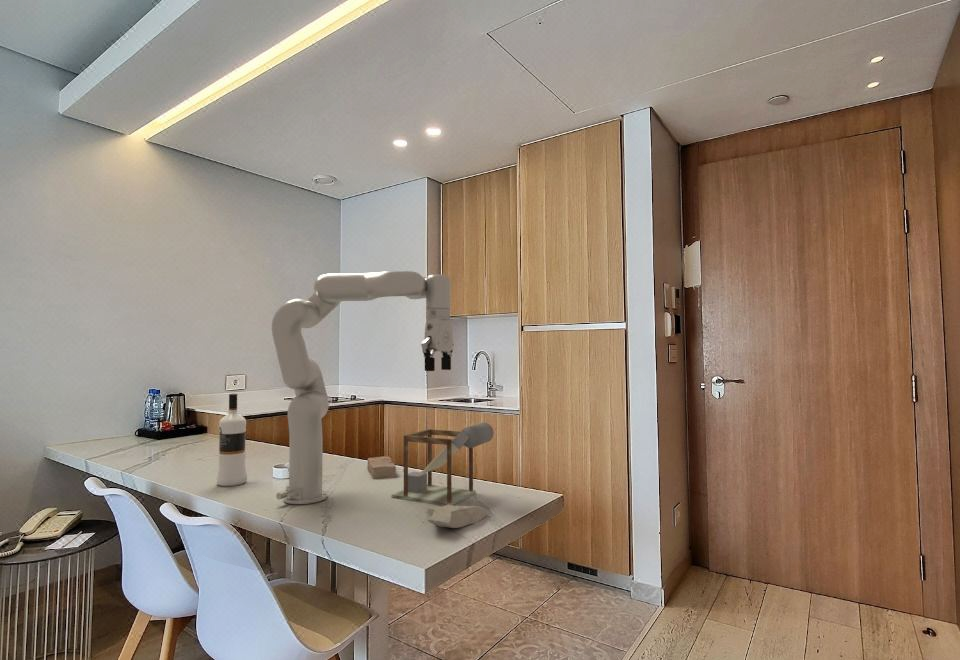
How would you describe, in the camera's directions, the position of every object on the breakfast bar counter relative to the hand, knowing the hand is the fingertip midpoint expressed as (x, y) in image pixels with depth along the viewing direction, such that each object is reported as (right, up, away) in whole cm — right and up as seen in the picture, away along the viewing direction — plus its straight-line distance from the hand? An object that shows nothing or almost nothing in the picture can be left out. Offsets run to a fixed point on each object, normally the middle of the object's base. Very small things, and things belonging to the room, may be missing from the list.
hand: (438, 370), depth 163 cm
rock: (+5, -38, -26) cm, 46 cm away
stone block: (-9, -35, +3) cm, 37 cm away
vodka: (-70, -39, +14) cm, 82 cm away
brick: (-23, -40, +29) cm, 54 cm away
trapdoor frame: (-1, -38, -1) cm, 38 cm away
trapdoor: (+9, -26, -5) cm, 29 cm away
